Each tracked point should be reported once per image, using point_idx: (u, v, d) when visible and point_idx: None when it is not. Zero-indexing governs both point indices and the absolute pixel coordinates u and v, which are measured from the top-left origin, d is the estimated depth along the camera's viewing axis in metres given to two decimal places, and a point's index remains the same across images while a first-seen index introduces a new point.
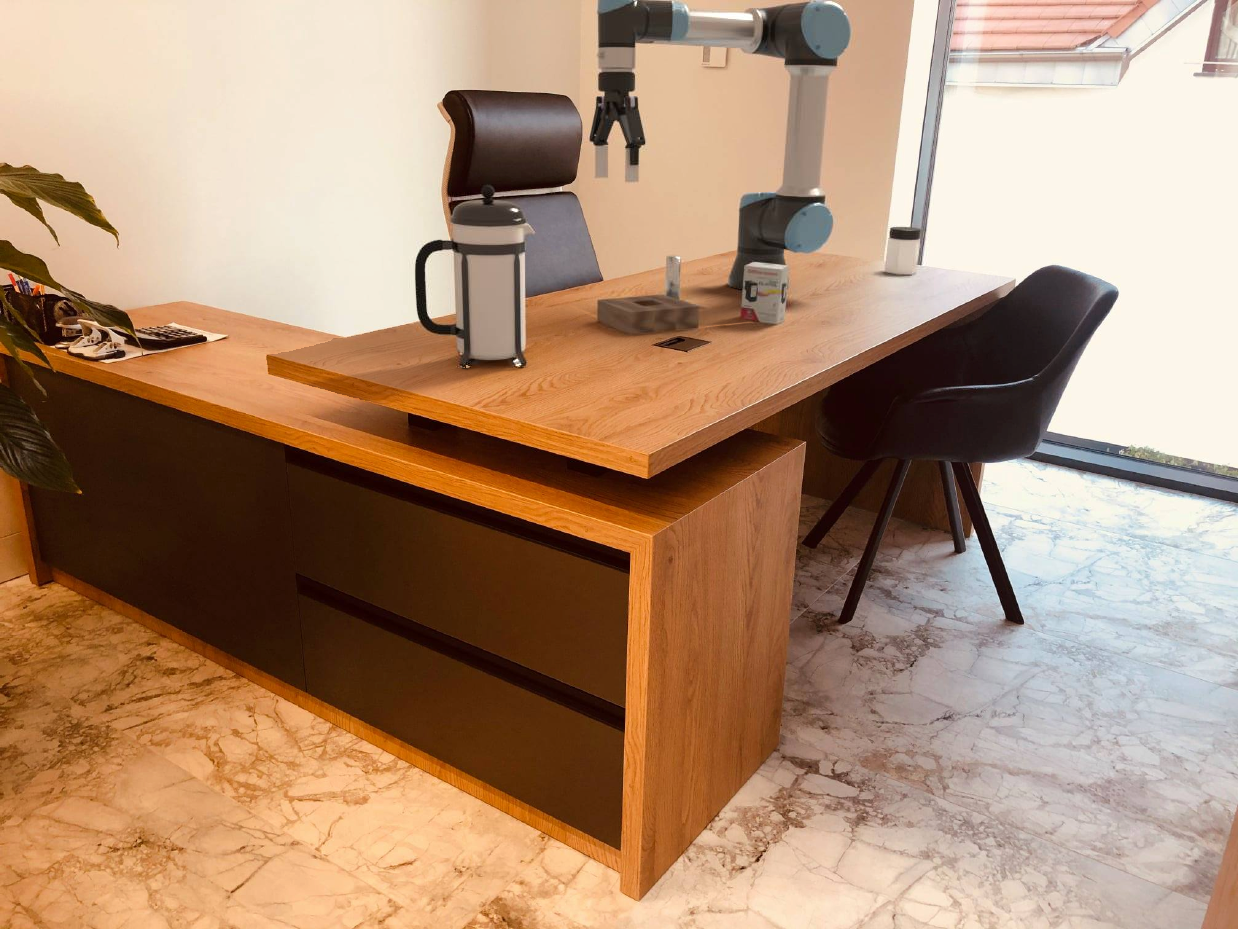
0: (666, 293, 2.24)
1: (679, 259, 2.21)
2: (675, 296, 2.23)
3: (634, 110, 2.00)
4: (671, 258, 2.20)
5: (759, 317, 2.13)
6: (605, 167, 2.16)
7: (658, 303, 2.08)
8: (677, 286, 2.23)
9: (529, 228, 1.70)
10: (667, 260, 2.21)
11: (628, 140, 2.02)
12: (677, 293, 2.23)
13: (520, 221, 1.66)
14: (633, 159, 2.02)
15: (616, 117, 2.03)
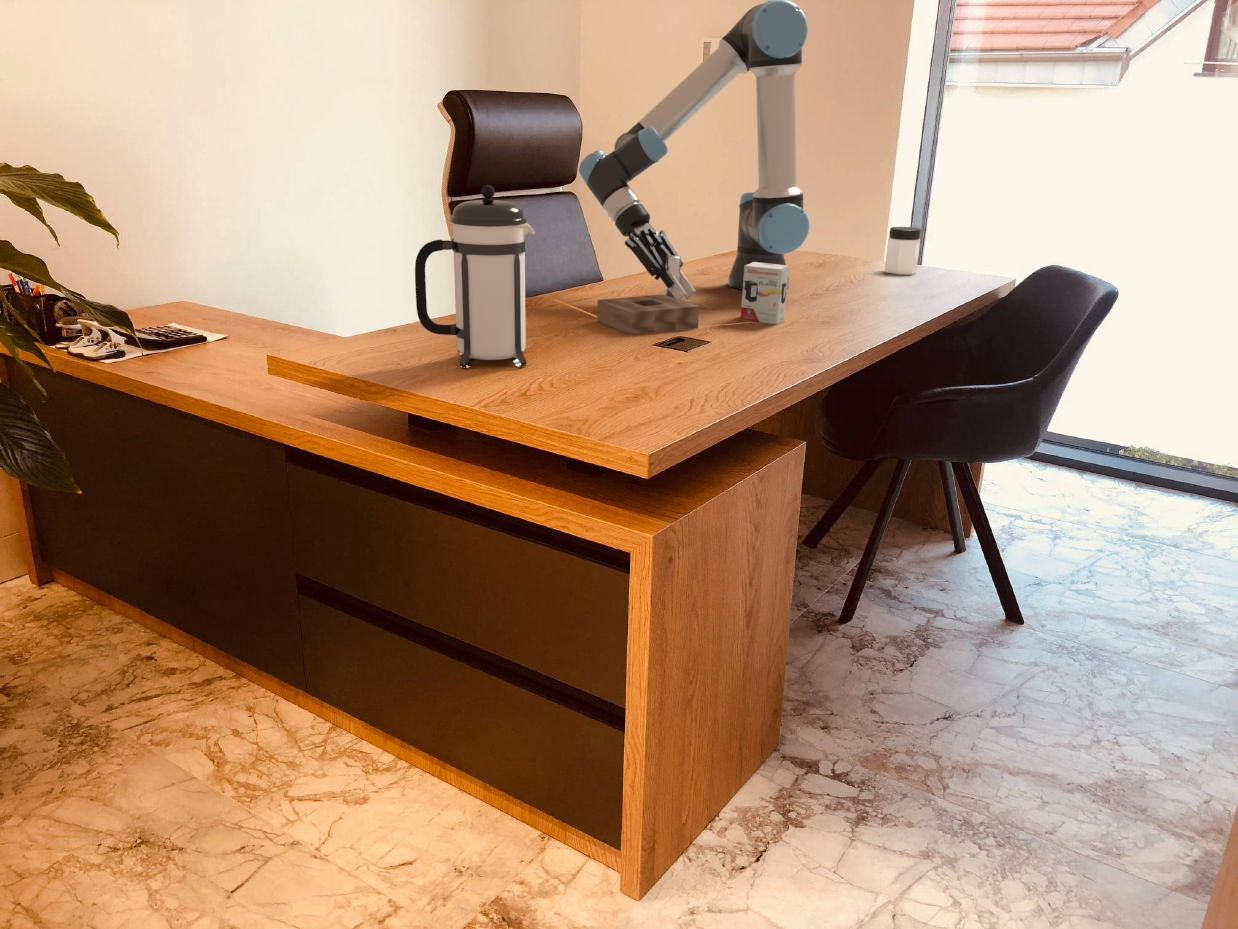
0: (666, 293, 2.24)
1: (679, 259, 2.21)
2: None
3: (636, 247, 2.20)
4: (671, 258, 2.20)
5: (759, 317, 2.13)
6: (687, 285, 2.23)
7: (658, 303, 2.08)
8: None
9: (529, 228, 1.70)
10: (667, 260, 2.21)
11: None
12: None
13: (520, 221, 1.66)
14: (665, 283, 2.21)
15: None
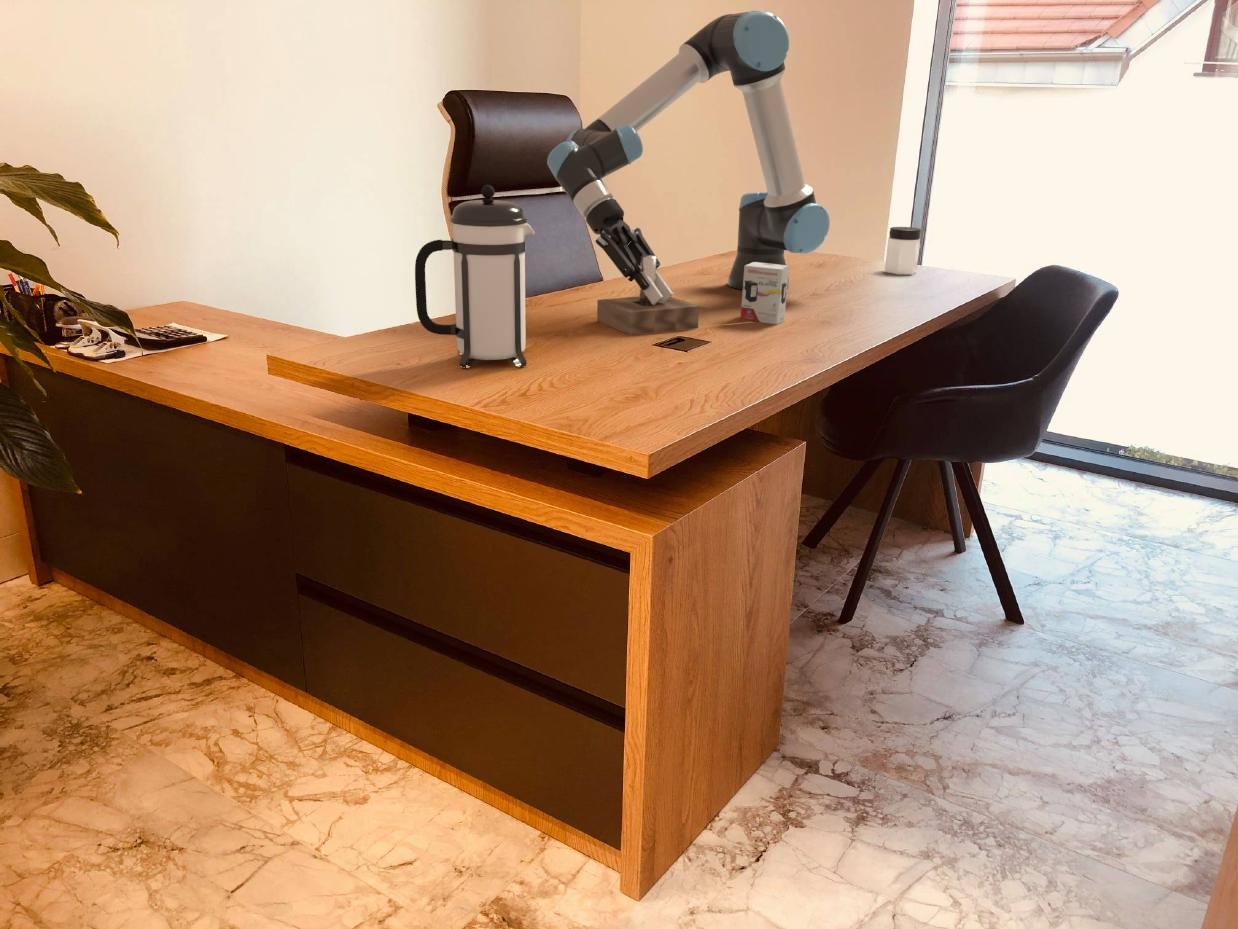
0: (641, 296, 2.06)
1: (654, 259, 2.03)
2: None
3: (608, 246, 2.02)
4: (646, 258, 2.02)
5: (759, 317, 2.13)
6: (664, 288, 2.05)
7: (658, 303, 2.08)
8: None
9: (529, 228, 1.70)
10: (641, 260, 2.03)
11: None
12: None
13: (520, 221, 1.66)
14: (640, 285, 2.03)
15: None
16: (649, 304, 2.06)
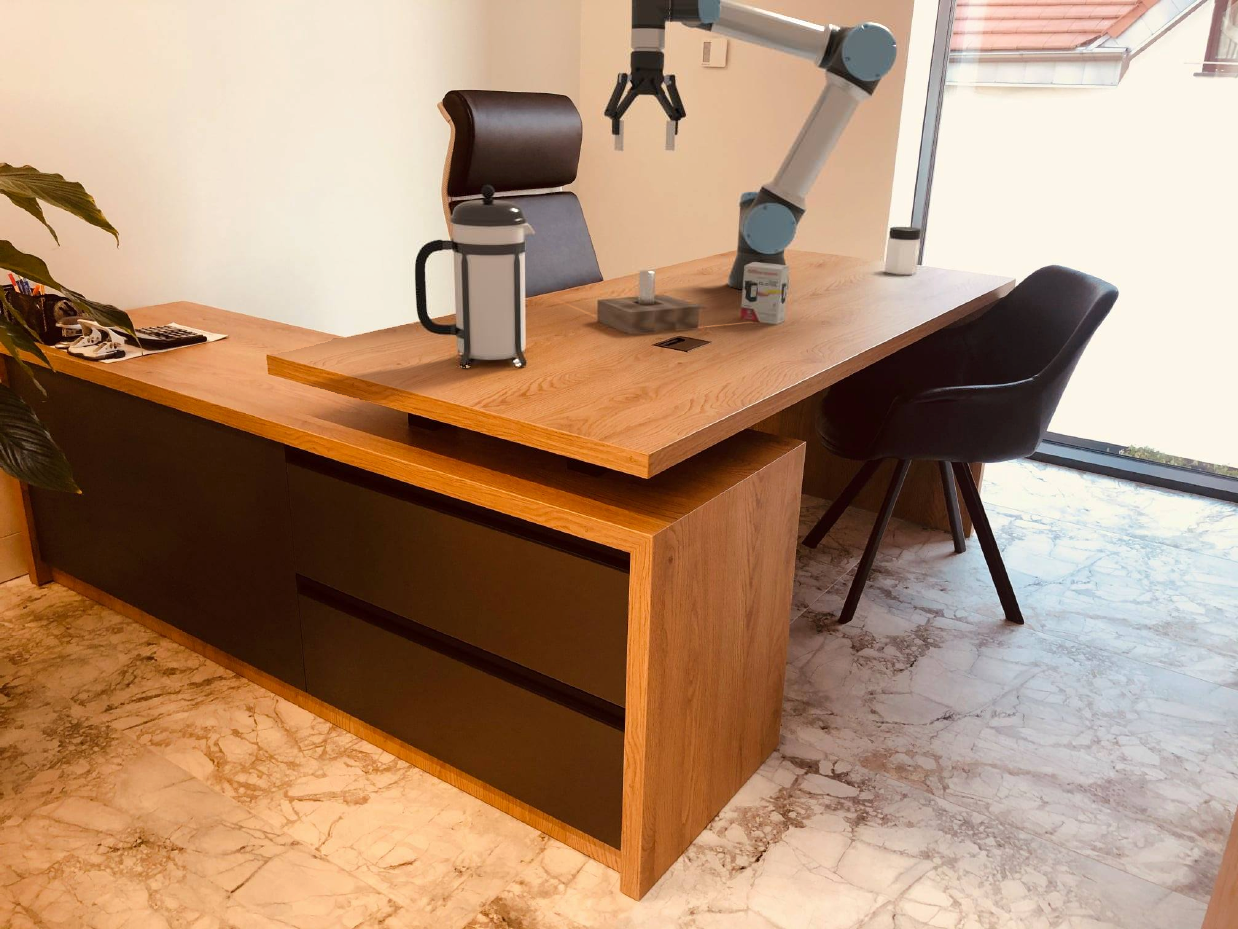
0: None
1: (653, 274, 2.04)
2: None
3: (618, 85, 2.23)
4: (644, 273, 2.03)
5: (759, 317, 2.13)
6: (670, 140, 2.33)
7: (658, 303, 2.08)
8: (651, 303, 2.06)
9: (529, 228, 1.70)
10: (640, 275, 2.04)
11: None
12: None
13: (520, 221, 1.66)
14: (612, 129, 2.26)
15: None
16: None
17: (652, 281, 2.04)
